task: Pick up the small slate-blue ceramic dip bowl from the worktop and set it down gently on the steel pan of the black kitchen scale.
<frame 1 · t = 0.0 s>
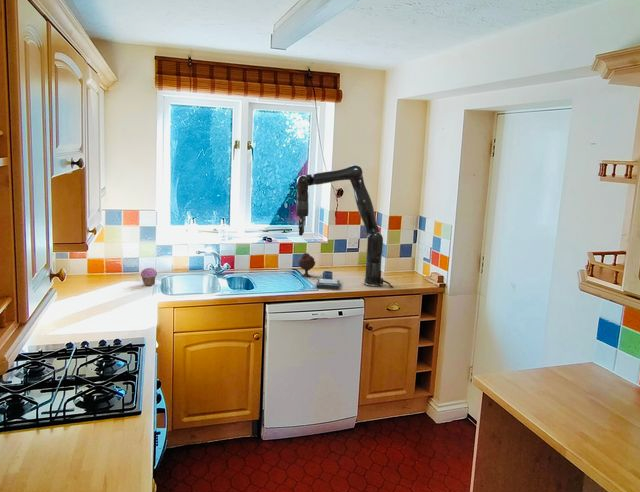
hand: (301, 234, 287), 29 cm above the worktop, tool pointing down, fingers open, 8 cm apart
scale: (328, 285, 281), on the worktop
dip bowl: (327, 280, 293), on the worktop
cupcake: (148, 285, 270), on the worktop
miniature tree: (306, 276, 303), on the worktop
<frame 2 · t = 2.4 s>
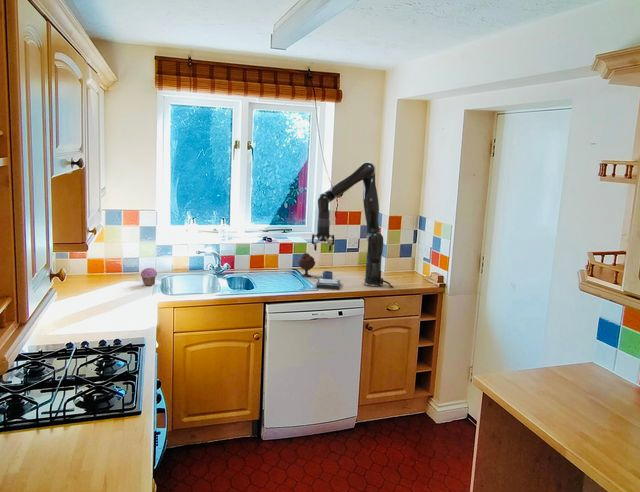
hand: (322, 251, 290), 19 cm above the worktop, tool pointing down, fingers open, 8 cm apart
nothing on the worktop moved.
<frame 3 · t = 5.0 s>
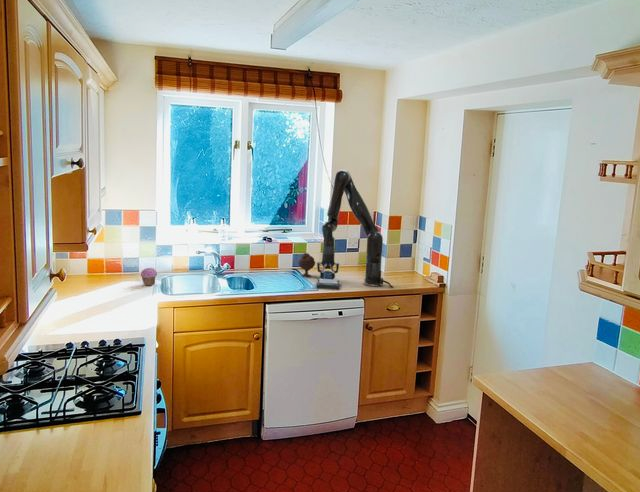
hand: (327, 278, 293), 1 cm above the worktop, tool pointing down, fingers closed on dip bowl, 6 cm apart
dip bowl: (327, 280, 293), on the worktop, touching gripper
everything else where it was.
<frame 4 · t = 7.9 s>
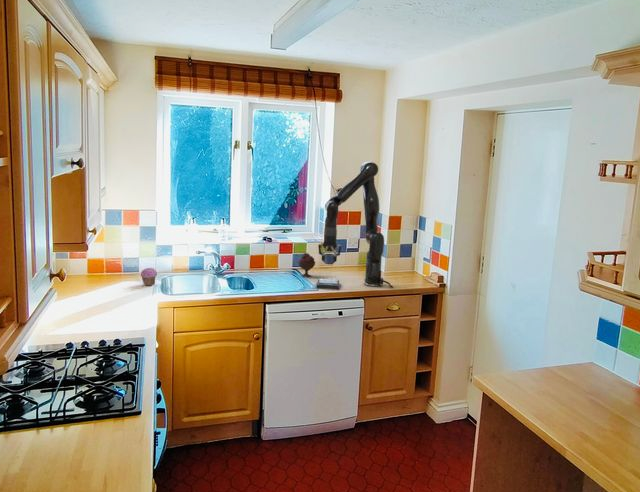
hand: (329, 261, 280), 15 cm above the worktop, tool pointing down, fingers closed on dip bowl, 6 cm apart
dip bowl: (329, 263, 280), point 13 cm above the worktop, touching gripper
everything else where it was.
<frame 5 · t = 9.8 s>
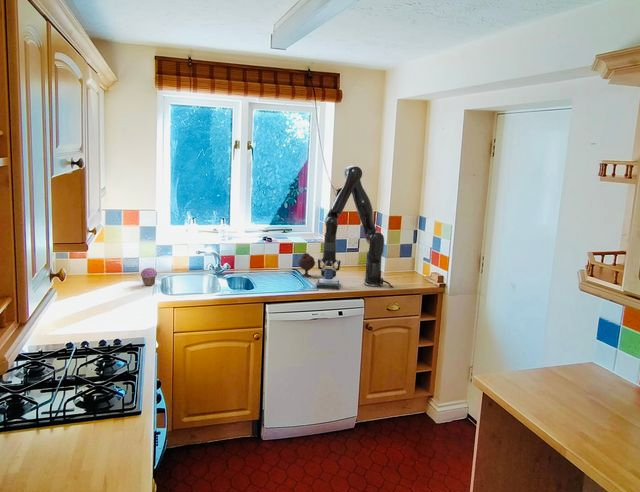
hand: (328, 276, 281), 6 cm above the worktop, tool pointing down, fingers closed on dip bowl, 6 cm apart
dip bowl: (328, 278, 281), point 4 cm above the worktop, touching gripper
everything else where it was.
when the fingers open (4 cm above the worktop, at t = 10.9 s): dip bowl stays where it is, resting on scale.
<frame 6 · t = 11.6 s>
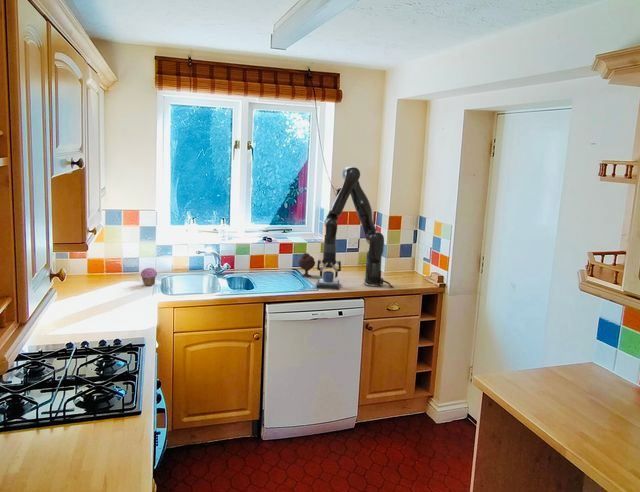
hand: (328, 277, 281), 5 cm above the worktop, tool pointing down, fingers open, 8 cm apart
dip bowl: (328, 280, 281), point 3 cm above the worktop, touching scale
everything else where it was.
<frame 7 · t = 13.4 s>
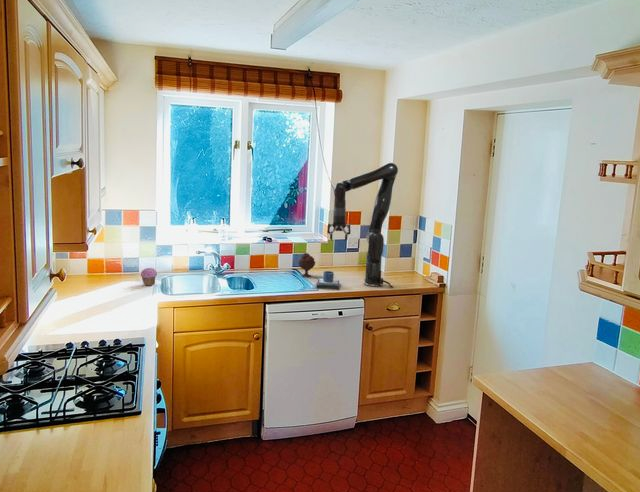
hand: (338, 240, 289), 26 cm above the worktop, tool pointing down, fingers open, 8 cm apart
nothing on the worktop moved.
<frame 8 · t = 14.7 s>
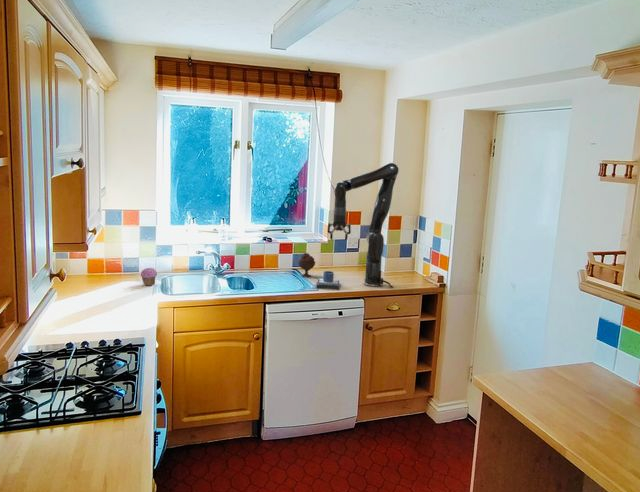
hand: (338, 240, 289), 26 cm above the worktop, tool pointing down, fingers open, 8 cm apart
nothing on the worktop moved.
at the end: dip bowl inside the target area on the scale (0.1 cm from its centre), point 2.8 cm above the scale's base; dip bowl tilted 0°; the gripper is holding nothing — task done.
